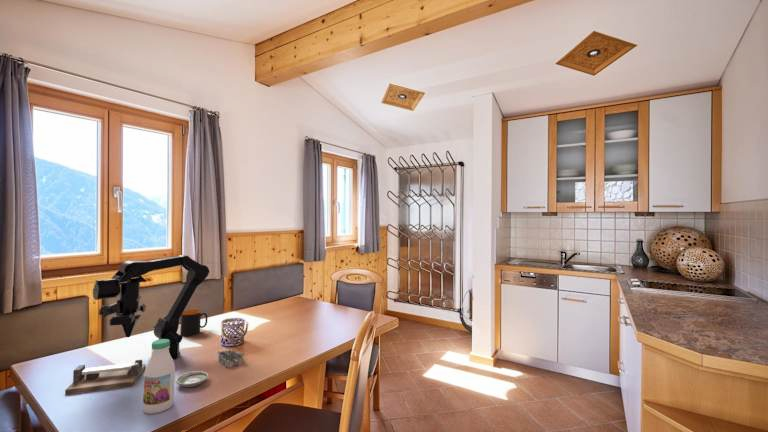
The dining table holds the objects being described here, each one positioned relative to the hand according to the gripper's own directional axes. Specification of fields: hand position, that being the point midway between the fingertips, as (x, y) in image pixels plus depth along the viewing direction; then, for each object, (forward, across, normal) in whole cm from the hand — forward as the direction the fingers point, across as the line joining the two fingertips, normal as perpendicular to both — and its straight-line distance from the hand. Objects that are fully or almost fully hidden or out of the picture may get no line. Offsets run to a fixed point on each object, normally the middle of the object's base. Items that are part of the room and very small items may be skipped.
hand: (128, 336), depth 125 cm
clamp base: (+12, +8, -3) cm, 15 cm away
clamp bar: (+9, +8, -2) cm, 12 cm away
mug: (+12, -36, +17) cm, 42 cm away
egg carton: (+12, +4, +35) cm, 38 cm away
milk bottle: (+12, +32, +17) cm, 38 cm away
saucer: (+12, +19, +24) cm, 33 cm away
